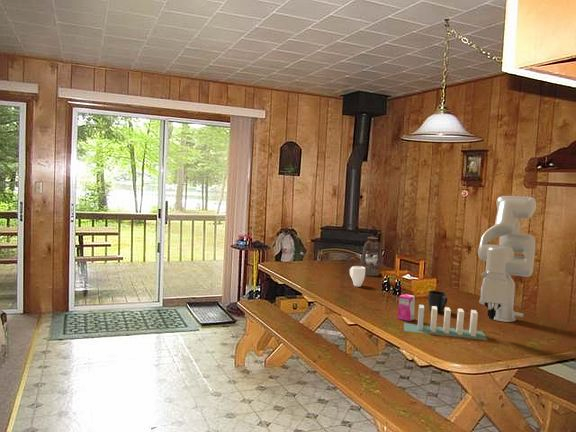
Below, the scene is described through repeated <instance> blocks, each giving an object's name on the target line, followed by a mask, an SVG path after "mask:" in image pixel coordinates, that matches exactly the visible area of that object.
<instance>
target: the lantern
mask: <svg viewBox="0 0 576 432" xmlns="http://www.w3.org/2000/svg"><path fill="white" fill-rule="evenodd" d="M371 225H372V223H370V224H369V225H368V228H367V231H369V229H370V226H371ZM376 226H377V233H379V225H378V224H376ZM378 235H379V234H377V235H375V236H373V235H371V236H370V235H369V234H367V236H368V237H367V239H368V240H367V241H366V242H365V243H364V245H363V249H362V253H361V254H362V255H361V258H360V259H361V260H360V266H362V267H365V277H378V276H379V274H380V273H379V269H380V268H381V267H382V247H381V243H380V242H379V241H378V239H379V238H378Z"/></svg>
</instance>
